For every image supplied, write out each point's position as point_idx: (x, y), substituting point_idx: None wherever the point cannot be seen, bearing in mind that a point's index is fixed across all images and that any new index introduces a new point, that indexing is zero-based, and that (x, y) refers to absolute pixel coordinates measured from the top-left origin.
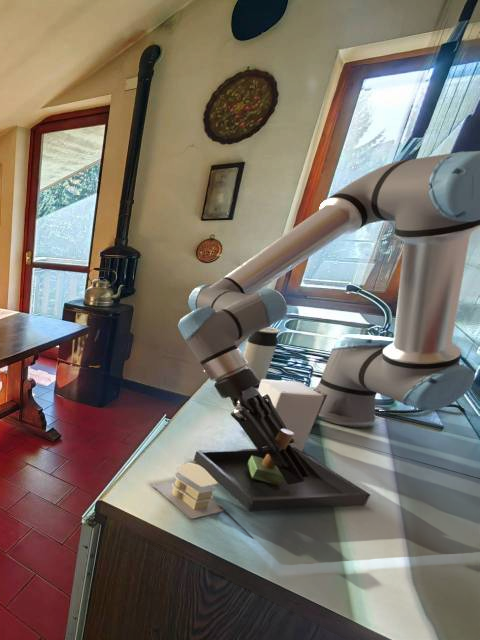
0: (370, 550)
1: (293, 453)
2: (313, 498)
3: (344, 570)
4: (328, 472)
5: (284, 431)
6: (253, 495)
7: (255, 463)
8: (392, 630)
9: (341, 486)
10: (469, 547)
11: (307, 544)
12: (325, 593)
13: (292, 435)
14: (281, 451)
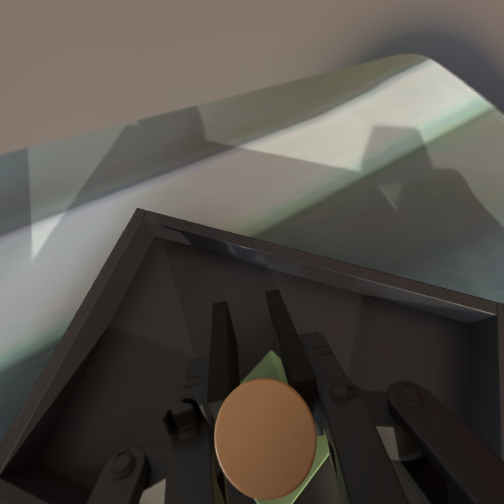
0: (302, 164)
1: (227, 363)
2: (299, 251)
3: (406, 154)
4: (93, 313)
5: (290, 445)
6: (404, 362)
7: (319, 462)
8: (449, 89)
9: (127, 272)
10: (130, 123)
11: (413, 207)
12: (493, 139)
13: (268, 378)
14: (313, 382)
